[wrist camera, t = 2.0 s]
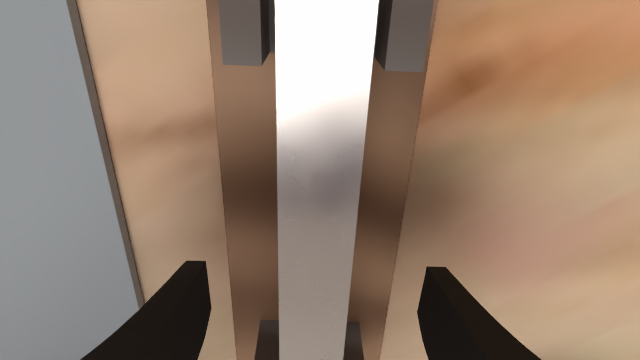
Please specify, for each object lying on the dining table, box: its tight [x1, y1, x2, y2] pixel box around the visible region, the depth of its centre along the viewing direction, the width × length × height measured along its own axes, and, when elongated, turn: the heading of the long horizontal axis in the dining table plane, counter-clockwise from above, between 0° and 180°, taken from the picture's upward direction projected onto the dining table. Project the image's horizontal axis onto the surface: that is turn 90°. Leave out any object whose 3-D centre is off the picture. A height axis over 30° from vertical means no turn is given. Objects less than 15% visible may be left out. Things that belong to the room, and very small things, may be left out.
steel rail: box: [275, 0, 379, 360], centre depth 14 cm, size 23×2×2 cm, turn 178°
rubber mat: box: [0, 0, 144, 360], centre depth 18 cm, size 26×10×1 cm, turn 178°
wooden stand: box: [206, 0, 438, 360], centre depth 16 cm, size 21×8×6 cm, turn 178°
